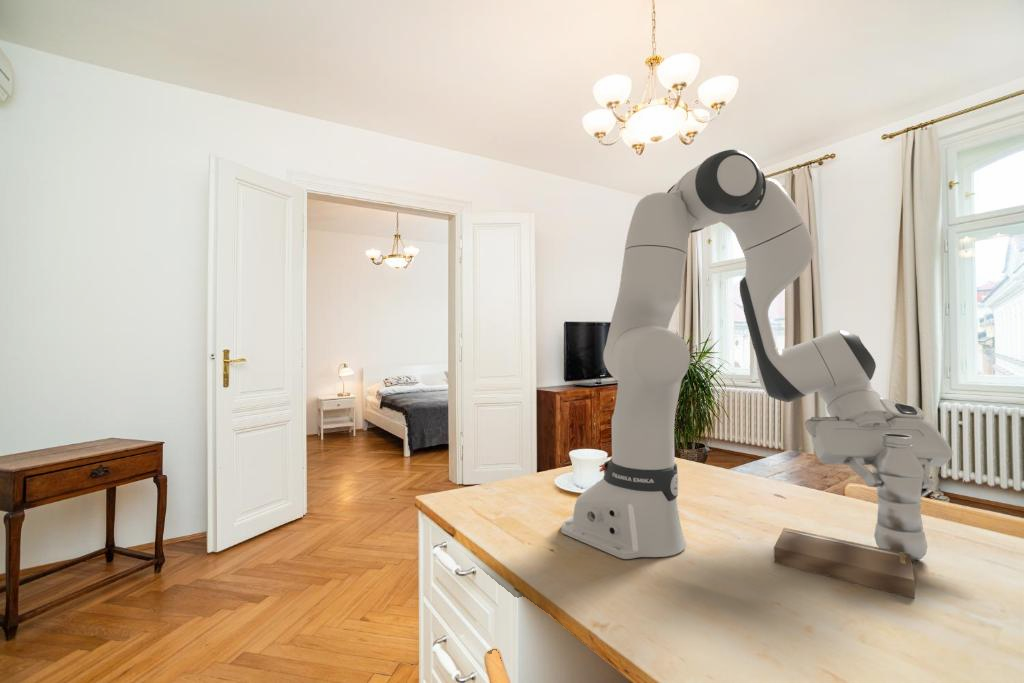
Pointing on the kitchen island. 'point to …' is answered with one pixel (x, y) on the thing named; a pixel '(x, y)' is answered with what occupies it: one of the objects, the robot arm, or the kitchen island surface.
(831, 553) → the walnut board
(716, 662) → the kitchen island surface
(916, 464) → the plastic bottle
